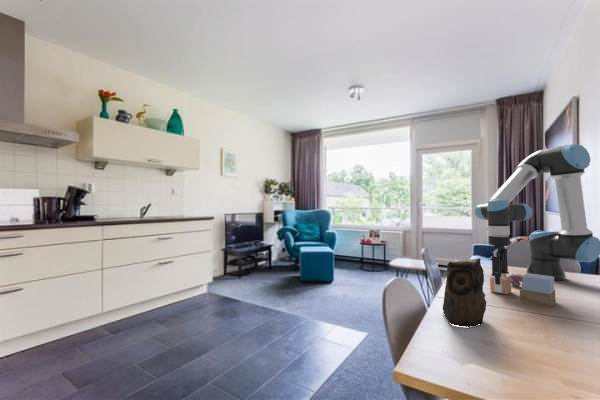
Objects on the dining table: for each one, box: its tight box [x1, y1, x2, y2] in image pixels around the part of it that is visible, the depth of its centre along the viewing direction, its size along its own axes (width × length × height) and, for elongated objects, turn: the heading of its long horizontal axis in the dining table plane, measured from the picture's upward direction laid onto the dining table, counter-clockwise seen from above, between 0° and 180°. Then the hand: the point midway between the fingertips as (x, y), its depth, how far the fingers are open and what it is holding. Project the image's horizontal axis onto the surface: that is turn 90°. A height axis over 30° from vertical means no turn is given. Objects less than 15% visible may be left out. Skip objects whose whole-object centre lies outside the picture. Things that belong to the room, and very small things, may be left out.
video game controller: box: [507, 273, 525, 287], centre depth 128 cm, size 10×5×7 cm, turn 25°
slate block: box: [521, 272, 555, 294], centre depth 107 cm, size 8×8×5 cm
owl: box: [442, 257, 487, 327], centre depth 90 cm, size 13×13×20 cm
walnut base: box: [519, 287, 556, 309], centre depth 107 cm, size 9×9×5 cm
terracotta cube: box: [489, 275, 512, 295], centre depth 121 cm, size 6×6×6 cm
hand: (500, 290), depth 121 cm, fingers closed on terracotta cube, 6 cm apart
